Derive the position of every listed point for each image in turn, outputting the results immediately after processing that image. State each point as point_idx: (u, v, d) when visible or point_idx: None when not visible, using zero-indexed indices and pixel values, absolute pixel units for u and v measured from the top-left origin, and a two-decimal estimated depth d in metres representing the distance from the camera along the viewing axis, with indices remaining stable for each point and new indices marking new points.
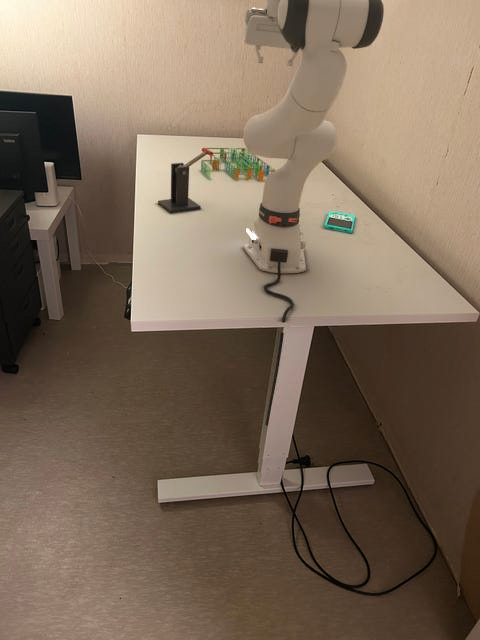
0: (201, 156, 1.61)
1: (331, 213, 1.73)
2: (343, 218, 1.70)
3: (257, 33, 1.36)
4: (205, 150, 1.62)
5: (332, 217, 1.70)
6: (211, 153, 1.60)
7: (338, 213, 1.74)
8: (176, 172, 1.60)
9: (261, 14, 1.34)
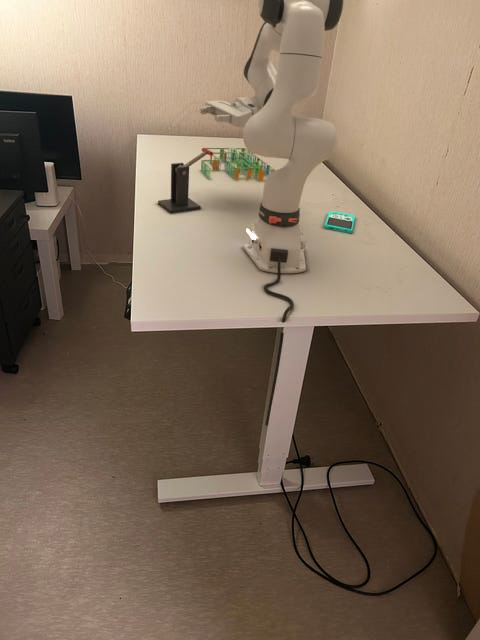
0: (201, 156, 1.61)
1: (331, 213, 1.73)
2: (343, 218, 1.70)
3: (216, 102, 1.61)
4: (205, 150, 1.62)
5: (332, 217, 1.70)
6: (211, 153, 1.60)
7: (338, 213, 1.74)
8: (176, 172, 1.60)
9: None
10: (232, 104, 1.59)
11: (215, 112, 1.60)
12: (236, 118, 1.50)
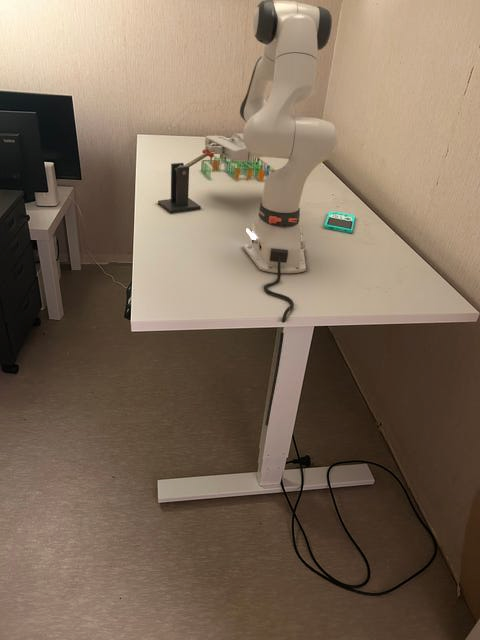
0: (201, 157, 1.61)
1: (331, 213, 1.73)
2: (343, 218, 1.70)
3: (216, 137, 1.69)
4: (206, 152, 1.62)
5: (332, 217, 1.70)
6: (212, 155, 1.61)
7: (338, 213, 1.74)
8: (176, 172, 1.60)
9: None
10: (231, 139, 1.66)
11: None
12: (233, 152, 1.57)
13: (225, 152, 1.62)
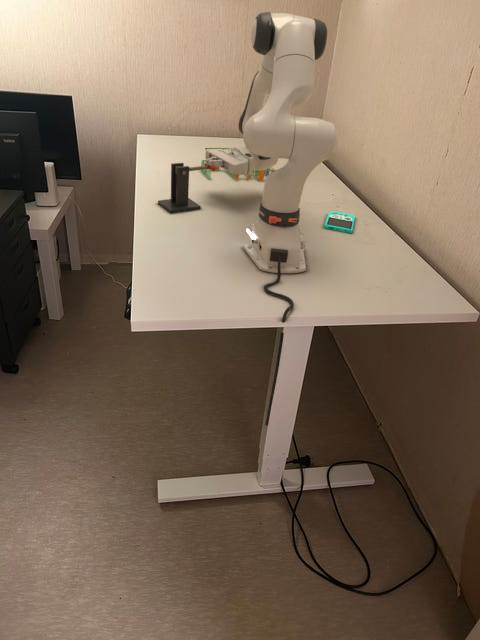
0: (203, 168, 1.64)
1: (331, 213, 1.73)
2: (343, 218, 1.70)
3: (216, 150, 1.72)
4: (208, 165, 1.65)
5: (332, 217, 1.70)
6: (214, 168, 1.64)
7: (338, 213, 1.74)
8: (176, 170, 1.59)
9: None
10: (230, 153, 1.69)
11: None
12: (233, 166, 1.60)
13: (225, 166, 1.65)
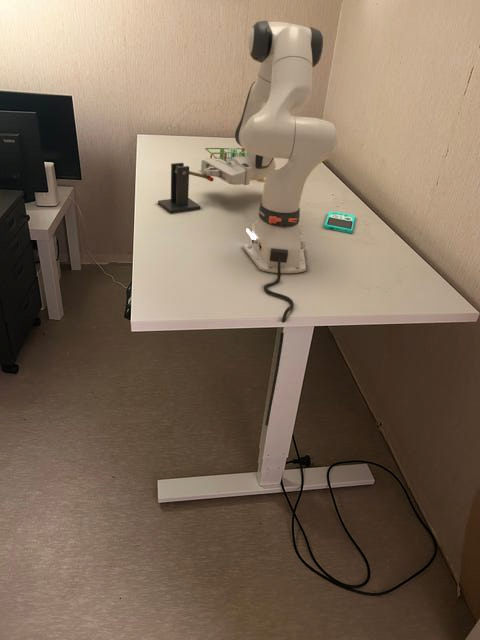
0: (202, 175, 1.65)
1: (331, 213, 1.73)
2: (343, 218, 1.70)
3: (213, 160, 1.73)
4: None
5: (332, 217, 1.70)
6: (212, 179, 1.66)
7: (338, 213, 1.74)
8: (176, 169, 1.59)
9: None
10: (228, 163, 1.71)
11: None
12: (230, 176, 1.62)
13: (222, 176, 1.67)
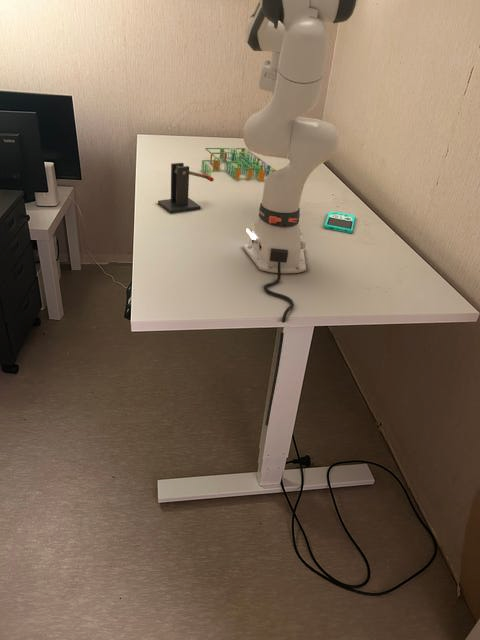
0: (202, 175, 1.65)
1: (331, 213, 1.73)
2: (343, 218, 1.70)
3: (264, 80, 1.58)
4: (207, 175, 1.67)
5: (332, 217, 1.70)
6: (212, 179, 1.66)
7: (338, 213, 1.74)
8: (176, 169, 1.59)
9: None
10: (274, 73, 1.52)
11: None
12: None
13: None
